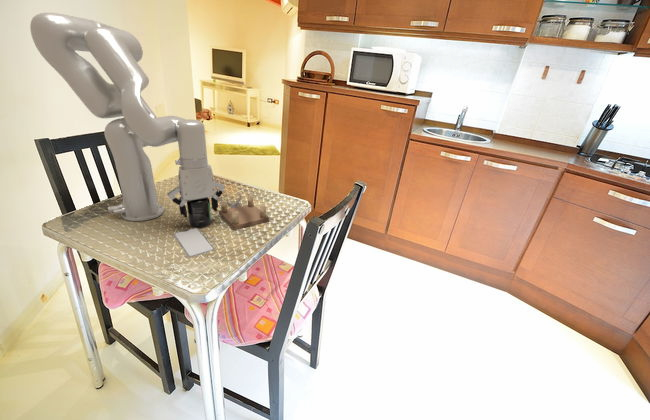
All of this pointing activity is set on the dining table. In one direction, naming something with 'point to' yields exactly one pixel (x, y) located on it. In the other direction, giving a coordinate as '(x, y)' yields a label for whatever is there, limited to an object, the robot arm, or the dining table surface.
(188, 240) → the smartphone
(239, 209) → the board
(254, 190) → the dining table surface
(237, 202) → the pliers
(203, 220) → the supplement bottle
